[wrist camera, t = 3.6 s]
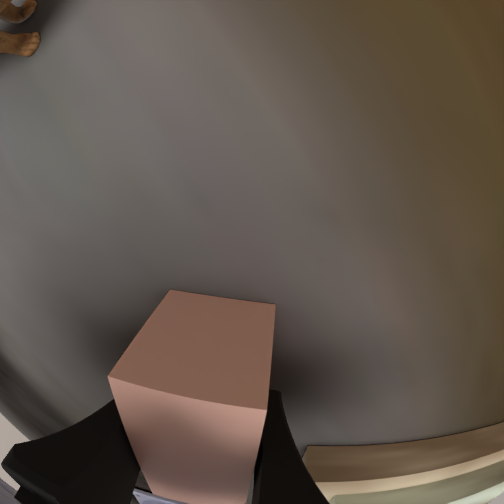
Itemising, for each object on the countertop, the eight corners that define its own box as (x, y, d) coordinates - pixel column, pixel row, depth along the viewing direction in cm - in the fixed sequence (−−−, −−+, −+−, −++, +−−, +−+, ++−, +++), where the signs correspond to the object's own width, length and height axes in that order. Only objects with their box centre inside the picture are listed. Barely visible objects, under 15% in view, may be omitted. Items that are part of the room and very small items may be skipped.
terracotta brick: (254, 431, 14) (243, 512, 9) (180, 418, 14) (152, 494, 9) (275, 304, 11) (266, 410, 6) (170, 289, 11) (107, 376, 6)
